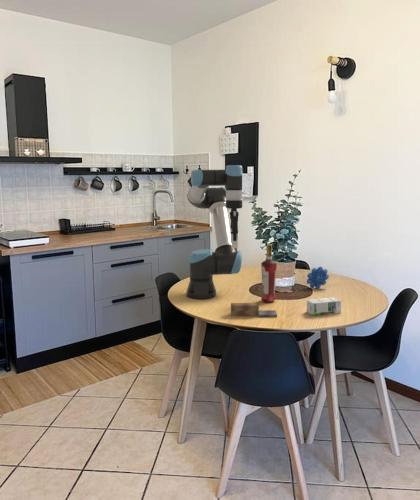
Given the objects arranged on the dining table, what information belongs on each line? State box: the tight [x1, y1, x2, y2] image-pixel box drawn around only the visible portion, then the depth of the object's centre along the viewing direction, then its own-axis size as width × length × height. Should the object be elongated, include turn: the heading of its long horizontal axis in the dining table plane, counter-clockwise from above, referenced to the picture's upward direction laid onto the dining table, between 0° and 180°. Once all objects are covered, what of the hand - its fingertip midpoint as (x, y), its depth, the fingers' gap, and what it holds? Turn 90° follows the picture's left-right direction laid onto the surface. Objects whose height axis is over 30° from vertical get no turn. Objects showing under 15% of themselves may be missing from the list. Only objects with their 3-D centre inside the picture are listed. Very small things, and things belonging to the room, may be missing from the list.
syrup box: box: [306, 296, 342, 316], centre depth 198 cm, size 6×6×14 cm
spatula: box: [230, 302, 278, 318], centre depth 196 cm, size 20×6×5 cm, turn 88°
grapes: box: [306, 266, 330, 289], centre depth 237 cm, size 12×7×12 cm, turn 86°
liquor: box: [260, 243, 278, 303], centre depth 213 cm, size 7×7×28 cm
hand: (234, 245), depth 206 cm, fingers open, 13 cm apart
